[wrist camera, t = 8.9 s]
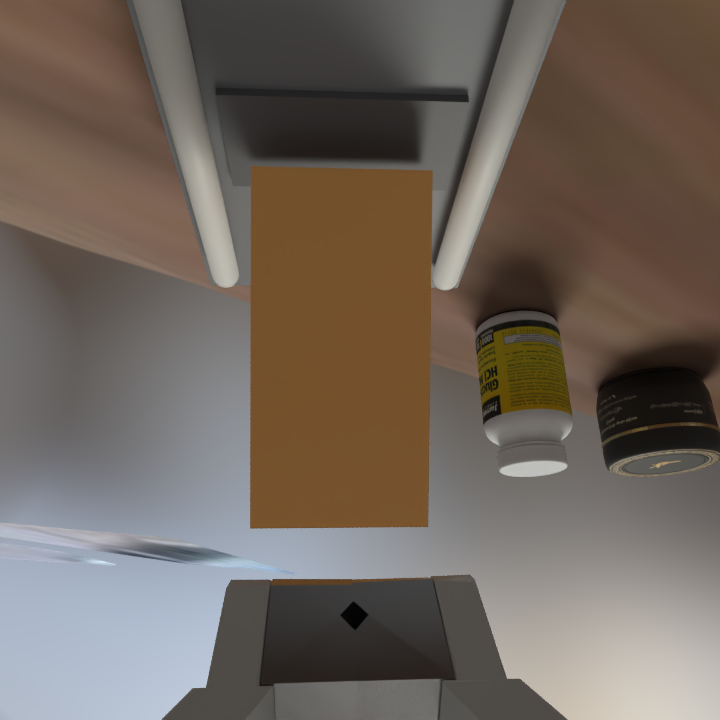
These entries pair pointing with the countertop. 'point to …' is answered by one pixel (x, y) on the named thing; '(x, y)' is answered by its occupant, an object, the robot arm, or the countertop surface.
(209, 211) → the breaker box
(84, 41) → the countertop surface
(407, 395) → the lever
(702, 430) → the jar
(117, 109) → the countertop surface
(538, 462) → the pill bottle
